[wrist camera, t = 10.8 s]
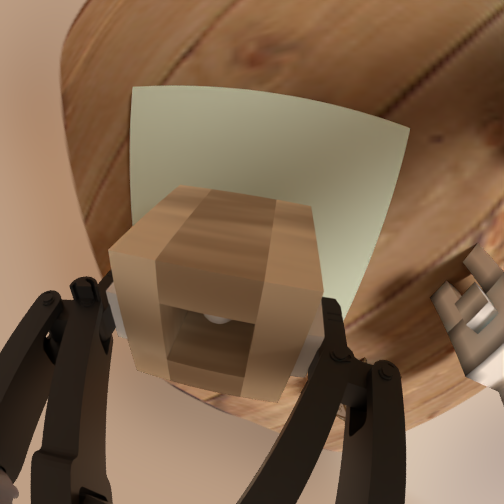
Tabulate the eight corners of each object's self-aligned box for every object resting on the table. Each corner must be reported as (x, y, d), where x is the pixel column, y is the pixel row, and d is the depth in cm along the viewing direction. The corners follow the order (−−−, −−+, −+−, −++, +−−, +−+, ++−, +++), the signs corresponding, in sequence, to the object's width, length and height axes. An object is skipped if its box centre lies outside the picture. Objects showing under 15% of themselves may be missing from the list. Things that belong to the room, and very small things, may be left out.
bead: (179, 184, 14) (108, 249, 8) (310, 206, 14) (324, 291, 8) (179, 286, 18) (137, 370, 12) (284, 307, 18) (277, 402, 12)
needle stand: (139, 86, 17) (17, 99, 7) (405, 126, 16) (512, 168, 6) (142, 277, 26) (83, 366, 16) (341, 315, 26) (354, 425, 16)
